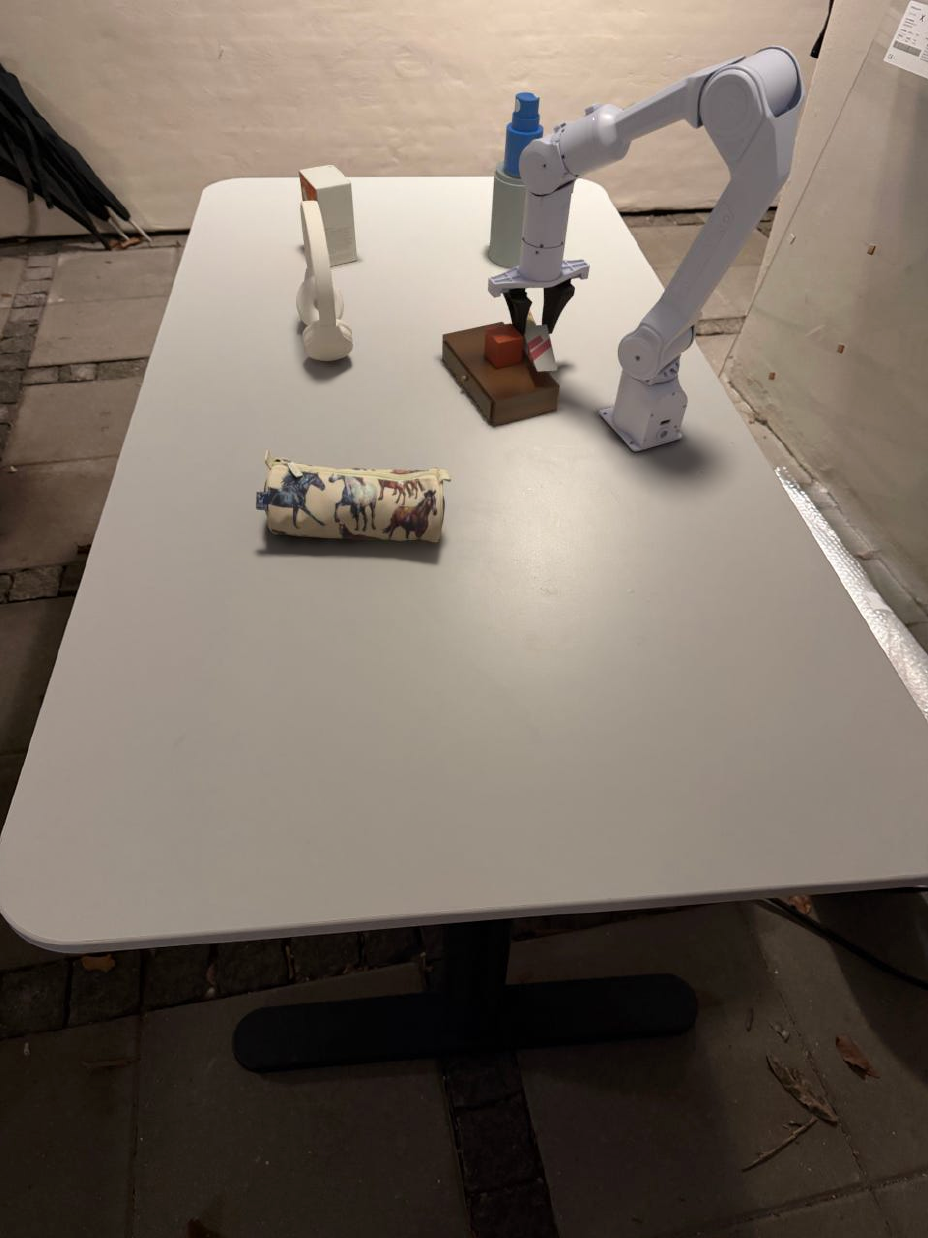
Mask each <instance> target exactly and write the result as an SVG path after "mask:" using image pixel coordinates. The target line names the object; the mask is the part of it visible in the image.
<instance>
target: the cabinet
mask: <svg viewBox="0 0 928 1238" xmlns="http://www.w3.org/2000/svg"><path fill="white" fill-rule="evenodd" d="M505 324H506V323H505V322H504V321H499V322H494V323H490V324H489V323H488V324H484V325H480V326H475V327H470V328H467V329H466V328H465V329H461V330H458V331H453V332H448V333H443V334H442V337H441V339H442V340H441V341H442V343H441V347H442V348H441V358H442V360H443V362H444V363H445V364H446V366H447V367H448V369H450V371H451V372H452V373H453V374H454V376H455V377H456V379H457V380H458V381H459V383H460V384H461V385H462V386H463V388H464V389H465V390H466V392H467V393H468V395H470V397H471V398H472V399H473V401H474V402H475V403H476V405H477V406H478V407H479V408H480V411H482V413H483V414H484V415H485V417H486V418H487V419H488V420H489V422H490V423H491V425H492V426H493V427H496V426H500V425H504V424H508V423H511V422H515V421H520V420H523V419H527V418H531V417H534V416H539V415H542V414H546V413H550V412H555V411H557V409H558V405H559V397H560V392H561V391H560V389H561V385H560V384H559V382H558V381H557V380H556V379H554V377H553V376H552V375H551V374H550V372H549V371H537V370H536V368H535V367H534V365H533V363H532V362H531V360H530V359H529V357H528V356H527V354H526V352H525V351H524V349H522V359H521V363H518V364H514V365H510V366H505V367H501V368H497V369H496V368H495V366H494V365H493V364H492V363H491V362H490V360H489V359H488V358H487V357H486V356H485V354H484V349H485V332H486V329H487V328H491V327H496V326H500V325H505Z"/></svg>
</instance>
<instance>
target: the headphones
mask: <svg viewBox="0 0 928 1238" xmlns="http://www.w3.org/2000/svg"><path fill="white" fill-rule="evenodd" d="M299 205H300V207H299V211H300V221H301V231H302V237H303V238H302V239H303V248H304V254H305V262H306V268H305V271H304V279H303V281H302V283H301V284H300V286H299V288H298V290H297V294H296V296H295V297H296V298H295V306H296V310H297V314H298V316H299V317H300V319H301V320H302V322H303V323H304V324H305V325H306V327H305V328H304V330H303V332H302V341H303V345H304V348H305V352H306V355H307V356H308V357H309V358H311V359H313V360H315V361H321V362H332V361H337V360H341V359H343V358H344V357H346V356H348V355H349V354H350V353H351V352H352V350H353V348H354V343H353V337H352V336H353V332H352V328H351V327H350V325H349V324H347V322H345V321H343V320H341V319H342V317H343V314H344V310H345V303H344V297H343V295H342V292H341V290H340V289H339V288H338V286H337V285H336V283H335V282H334V281H333V276H332V275H333V273H332V268H331V267H332V266H330V260H329V253H328V249H327V243H326V238H325V232H324V227H323V222H322V217H321V213H320V209H319V205H318V203H317V201H301V202H300V204H299Z"/></svg>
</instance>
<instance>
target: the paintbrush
mask: <svg viewBox="0 0 928 1238" xmlns="http://www.w3.org/2000/svg"><path fill="white" fill-rule="evenodd" d="M550 336H551V334H549V331H548V327H547V325H542V324H537V323H536V321H535V319H534V316H533V313H532V311H531V310H529V313H528V316H527V321H526V330H525V334H524V339H523V349H524V351H525V352H526V354H527V356H528V357H529V359H530V360H531V362H532V363H533V365H534V367H535V368H536V370H537V371H547V372H549V371H551V372H552V371H558V365H557V362H556V357H555V353H554V349H553V344H552V340H551V337H550Z"/></svg>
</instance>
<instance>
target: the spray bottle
mask: <svg viewBox="0 0 928 1238" xmlns="http://www.w3.org/2000/svg"><path fill="white" fill-rule="evenodd" d="M540 100H541V97H540V96H538V97H536V96H535V94H534V93H532V92H528V91H525V92H523V91H522V92H518V93H516V94H515V98H514V111H513V112H512V114H511V122H509V123H507V124H506V128H505V143H504V158H503V160H501V161H500V162H498V163H497V164H496V166H495V170H494V171H493V187H492V203H491V204H492V205H491V221H490V237H489V253H488V254H489V255H488V258H489V259H490V261H492V262H493V263H494V264H495V265H498V266H500V267H502V268H506V269H512V268H514V267H516V266H518V265H519V263H520V252H521V241H522V229H523V218H524V207H525V196H526V186H525V185H524V183H523V181H522V179H521V176H520V172H519V159H520V156H521V153H522V151H523V150H524V148H525V147H526V146H527V145H529V144H530V143H531V141H532V140H535V139H540V138H542V137H544V129H545V128H544V126H543V125H542V124H540V119H541V114H540V113H539V112H540V111H539V108H540Z"/></svg>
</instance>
